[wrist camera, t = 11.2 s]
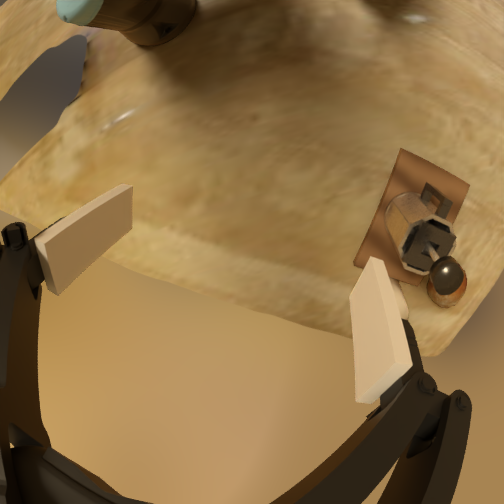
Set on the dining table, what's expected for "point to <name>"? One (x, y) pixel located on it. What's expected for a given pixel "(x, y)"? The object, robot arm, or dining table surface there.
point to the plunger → (442, 269)
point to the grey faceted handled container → (420, 227)
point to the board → (401, 180)
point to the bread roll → (447, 300)
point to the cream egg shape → (399, 298)
